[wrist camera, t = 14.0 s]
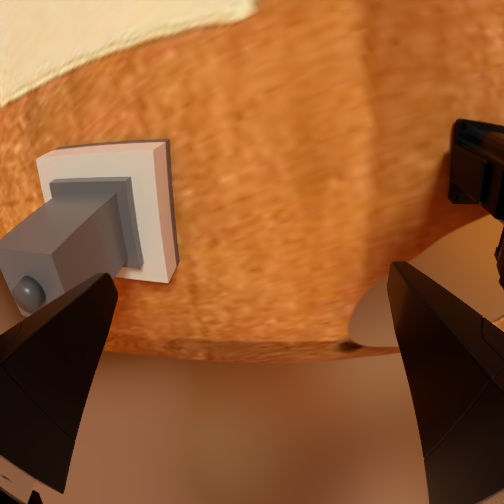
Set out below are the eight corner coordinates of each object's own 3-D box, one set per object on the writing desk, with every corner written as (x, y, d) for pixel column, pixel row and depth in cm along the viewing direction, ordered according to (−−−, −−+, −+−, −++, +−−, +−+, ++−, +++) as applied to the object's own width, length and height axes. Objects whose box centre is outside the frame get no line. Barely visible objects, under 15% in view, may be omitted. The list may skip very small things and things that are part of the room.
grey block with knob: (143, 167, 20) (46, 252, 11) (153, 248, 24) (89, 356, 14) (69, 169, 20) (-31, 242, 11) (85, 242, 24) (11, 331, 15)
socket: (169, 139, 20) (151, 151, 17) (179, 260, 25) (167, 285, 22) (58, 147, 20) (33, 160, 18) (80, 251, 26) (62, 272, 23)
